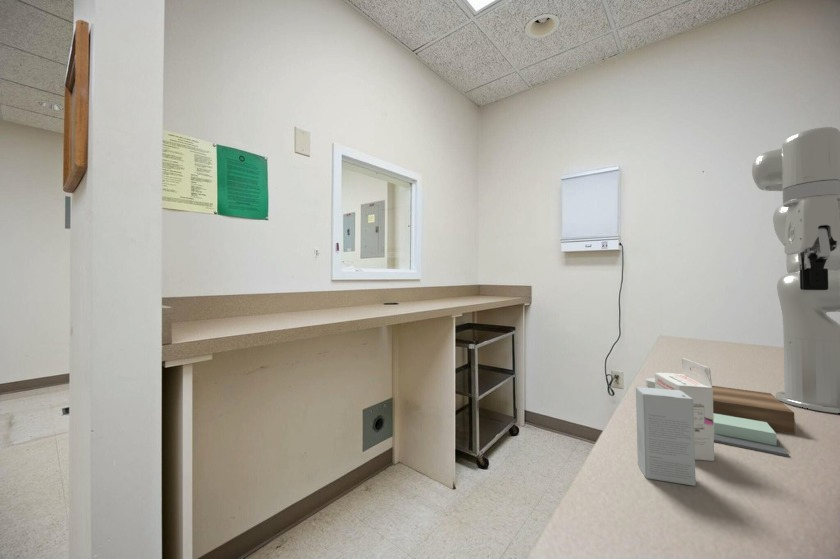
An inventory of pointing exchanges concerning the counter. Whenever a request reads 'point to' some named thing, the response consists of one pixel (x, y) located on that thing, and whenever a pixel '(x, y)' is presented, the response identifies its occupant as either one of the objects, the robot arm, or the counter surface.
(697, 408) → the ink cartridge box
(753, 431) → the mint green block
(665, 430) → the skincare box
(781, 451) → the mat
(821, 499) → the counter surface
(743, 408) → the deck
